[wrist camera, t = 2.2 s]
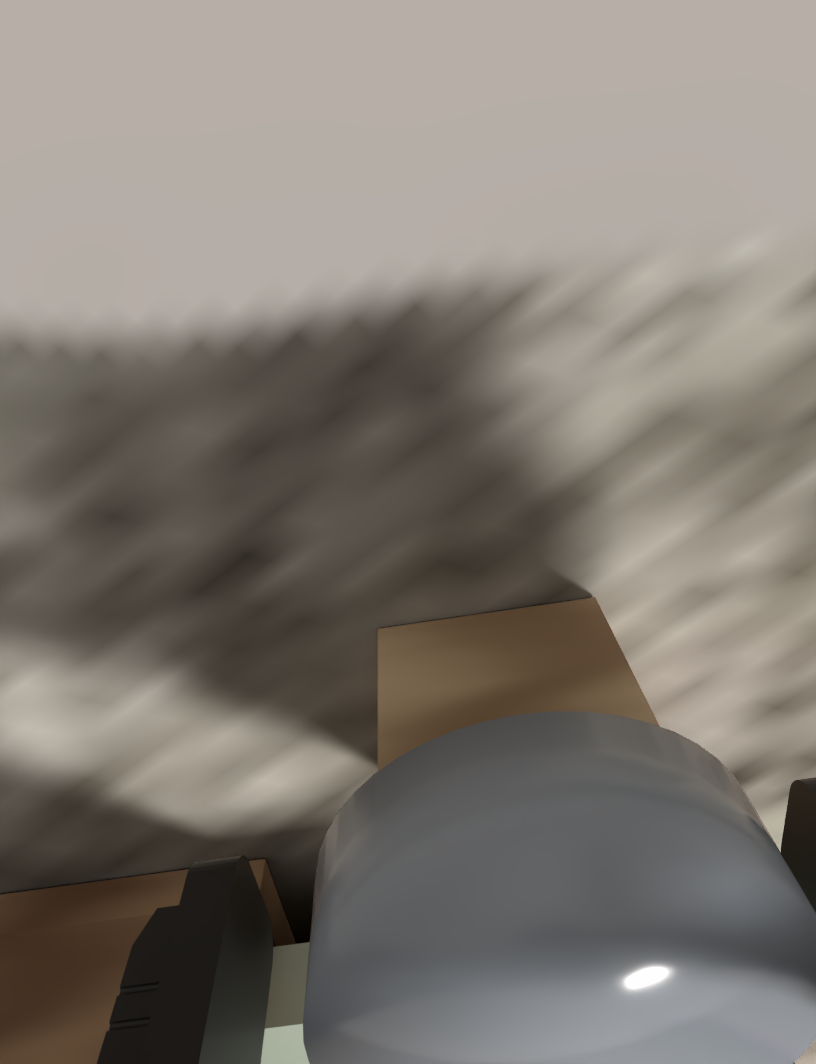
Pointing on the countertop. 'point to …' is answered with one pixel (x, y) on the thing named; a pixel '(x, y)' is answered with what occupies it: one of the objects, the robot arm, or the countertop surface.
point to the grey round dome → (557, 907)
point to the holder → (82, 959)
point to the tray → (286, 1006)
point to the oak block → (499, 672)
